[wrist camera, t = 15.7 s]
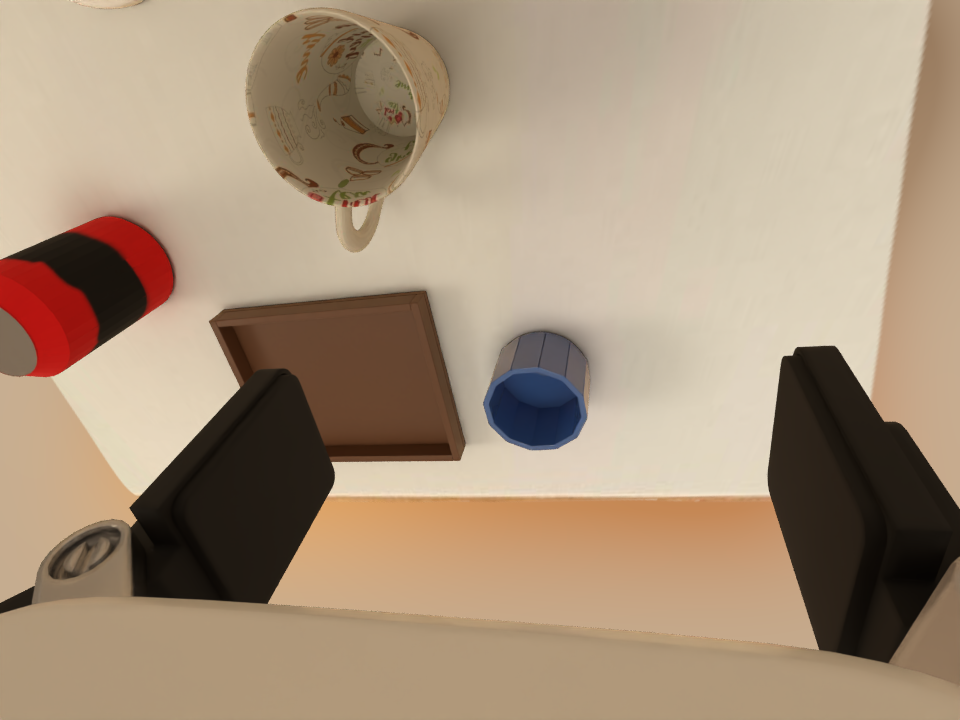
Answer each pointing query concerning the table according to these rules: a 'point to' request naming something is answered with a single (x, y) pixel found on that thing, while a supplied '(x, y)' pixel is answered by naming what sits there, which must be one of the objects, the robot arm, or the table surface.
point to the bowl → (539, 392)
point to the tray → (356, 372)
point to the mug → (344, 108)
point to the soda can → (77, 294)
